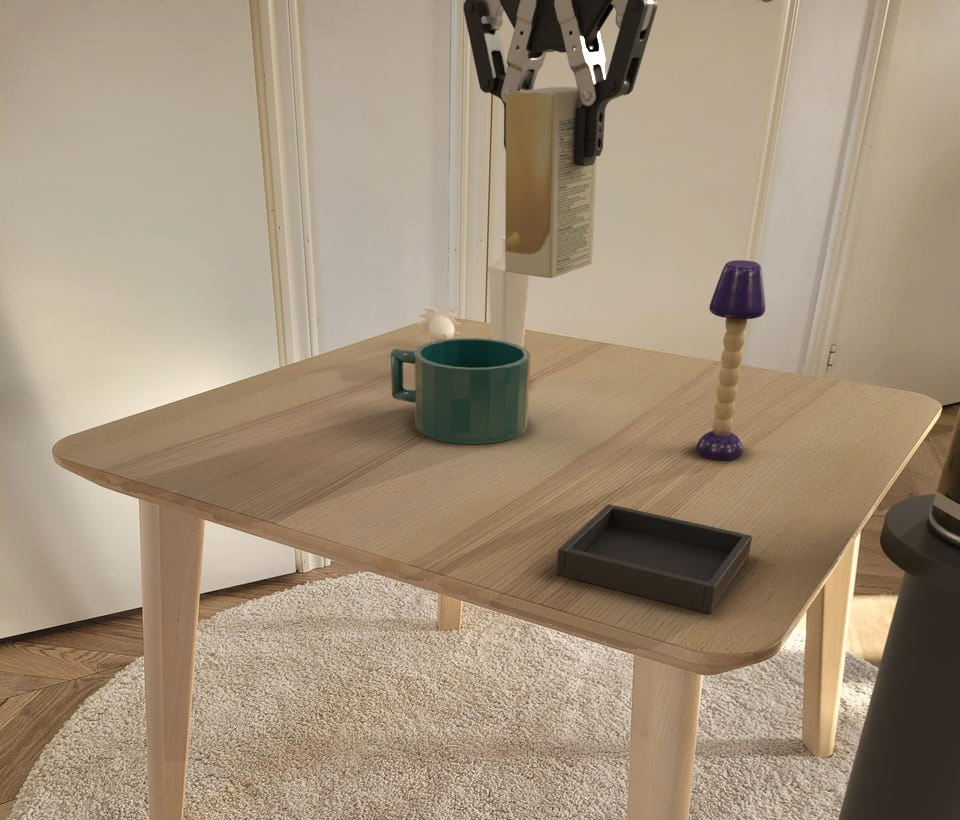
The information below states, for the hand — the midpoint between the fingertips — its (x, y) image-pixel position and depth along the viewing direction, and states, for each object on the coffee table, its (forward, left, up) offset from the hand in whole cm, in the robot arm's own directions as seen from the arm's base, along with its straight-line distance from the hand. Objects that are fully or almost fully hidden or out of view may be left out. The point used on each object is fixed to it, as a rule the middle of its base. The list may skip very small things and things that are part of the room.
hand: (552, 161), depth 73 cm
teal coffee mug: (+13, -9, -25) cm, 30 cm away
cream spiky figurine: (+27, -29, -25) cm, 47 cm away
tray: (-14, +11, -25) cm, 31 cm away
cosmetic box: (0, 0, -8) cm, 8 cm away
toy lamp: (-11, -14, -25) cm, 31 cm away
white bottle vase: (+15, -23, -25) cm, 37 cm away
